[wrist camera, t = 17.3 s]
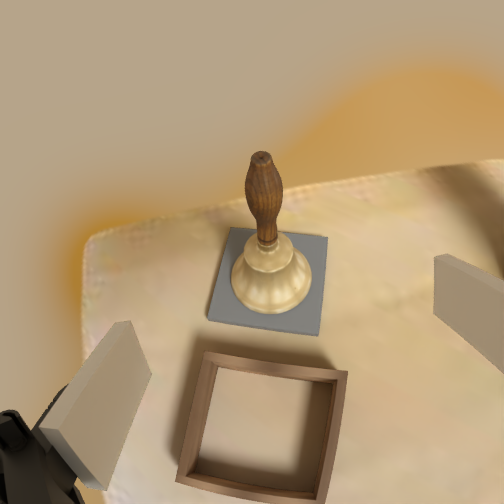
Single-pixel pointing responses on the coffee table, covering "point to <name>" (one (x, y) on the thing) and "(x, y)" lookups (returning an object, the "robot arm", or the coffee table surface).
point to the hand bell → (268, 248)
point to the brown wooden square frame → (280, 500)
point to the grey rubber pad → (291, 321)
